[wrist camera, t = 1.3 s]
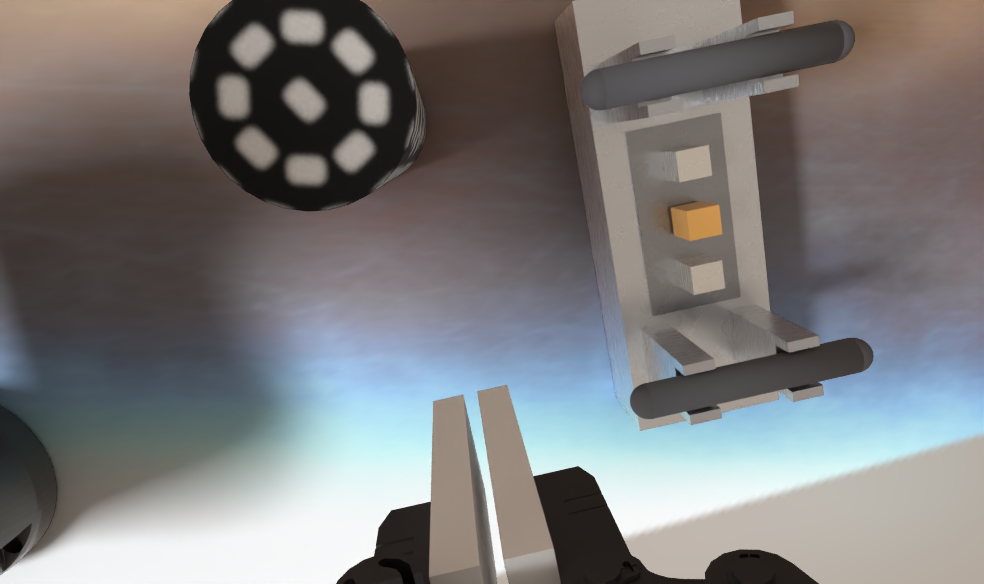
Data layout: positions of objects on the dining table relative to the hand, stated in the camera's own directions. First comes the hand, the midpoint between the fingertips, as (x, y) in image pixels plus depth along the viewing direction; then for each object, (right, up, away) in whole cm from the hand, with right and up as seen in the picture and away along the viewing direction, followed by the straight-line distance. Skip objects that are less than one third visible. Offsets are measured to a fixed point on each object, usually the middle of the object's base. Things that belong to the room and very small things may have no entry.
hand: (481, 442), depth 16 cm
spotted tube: (-8, +15, +27) cm, 32 cm away
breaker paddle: (+13, +9, +24) cm, 28 cm away
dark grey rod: (+11, +15, +16) cm, 25 cm away
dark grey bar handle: (+15, -1, +20) cm, 25 cm away
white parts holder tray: (+12, +10, +30) cm, 34 cm away
